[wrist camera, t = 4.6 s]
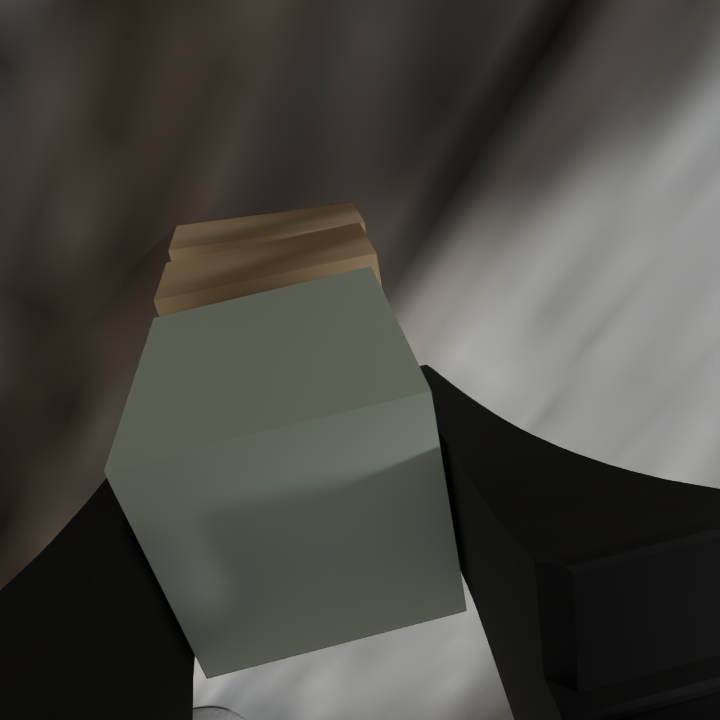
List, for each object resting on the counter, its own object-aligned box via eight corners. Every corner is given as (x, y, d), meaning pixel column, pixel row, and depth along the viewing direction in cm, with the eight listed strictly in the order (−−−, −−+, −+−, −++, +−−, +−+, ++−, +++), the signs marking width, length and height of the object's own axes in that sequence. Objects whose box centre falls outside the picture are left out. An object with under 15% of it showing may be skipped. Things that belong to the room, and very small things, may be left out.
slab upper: (359, 222, 16) (376, 252, 14) (387, 385, 19) (405, 433, 17) (166, 263, 16) (153, 300, 14) (220, 423, 19) (215, 477, 16)
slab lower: (351, 199, 19) (364, 223, 17) (366, 349, 21) (380, 388, 19) (178, 222, 18) (168, 250, 16) (213, 373, 21) (209, 415, 18)
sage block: (370, 266, 13) (430, 390, 9) (405, 441, 15) (466, 611, 11) (153, 318, 13) (103, 471, 9) (219, 487, 15) (206, 678, 11)
